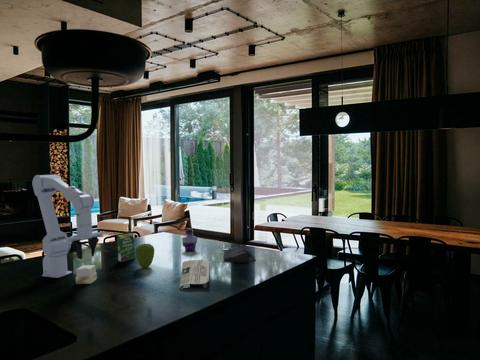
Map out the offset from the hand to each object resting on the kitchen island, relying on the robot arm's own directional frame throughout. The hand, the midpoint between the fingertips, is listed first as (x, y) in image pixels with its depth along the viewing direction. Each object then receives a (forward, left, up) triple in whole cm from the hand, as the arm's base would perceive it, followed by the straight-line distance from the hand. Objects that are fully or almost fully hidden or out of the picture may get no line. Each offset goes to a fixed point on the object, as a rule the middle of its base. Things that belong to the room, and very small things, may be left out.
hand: (85, 257), depth 149 cm
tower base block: (0, 0, -10) cm, 10 cm away
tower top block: (0, 0, -7) cm, 7 cm away
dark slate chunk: (+46, +53, -11) cm, 71 cm away
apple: (+12, +23, -10) cm, 28 cm away
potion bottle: (+16, +57, -10) cm, 60 cm away
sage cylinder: (0, 0, -1) cm, 1 cm away
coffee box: (-5, +31, -10) cm, 33 cm away
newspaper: (+40, +20, -11) cm, 46 cm away
